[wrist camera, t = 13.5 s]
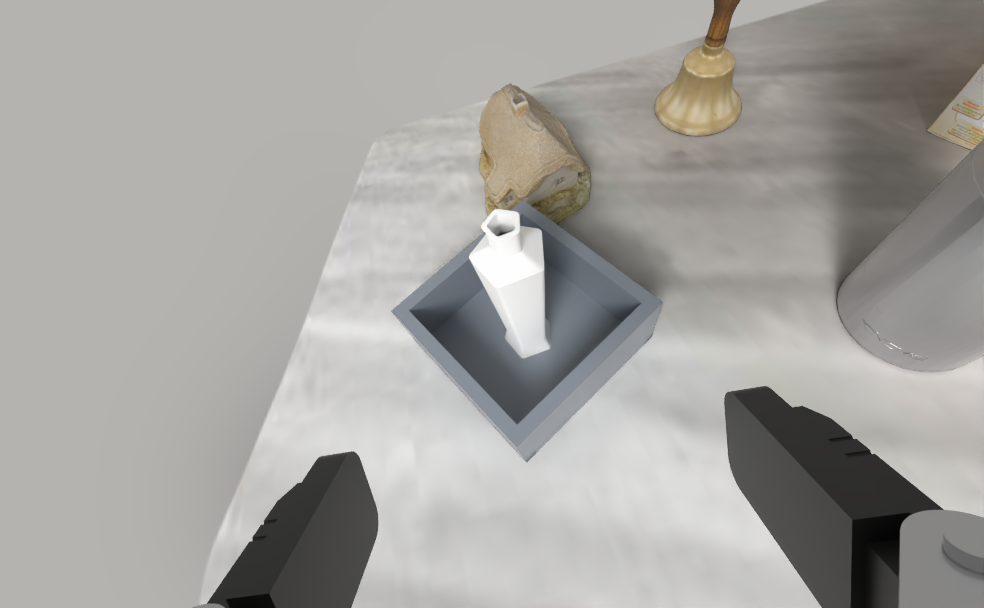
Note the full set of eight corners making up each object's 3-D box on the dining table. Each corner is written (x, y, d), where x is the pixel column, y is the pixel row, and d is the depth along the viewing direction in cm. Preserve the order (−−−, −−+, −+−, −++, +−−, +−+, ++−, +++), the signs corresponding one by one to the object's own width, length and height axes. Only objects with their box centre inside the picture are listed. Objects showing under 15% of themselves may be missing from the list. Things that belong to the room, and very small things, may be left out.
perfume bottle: (500, 313, 39) (459, 196, 26) (551, 308, 38) (536, 186, 25) (500, 364, 37) (456, 264, 24) (556, 360, 36) (541, 256, 23)
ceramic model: (614, 206, 44) (622, 121, 35) (506, 253, 43) (487, 179, 35) (550, 118, 50) (543, 28, 42) (456, 158, 50) (429, 76, 41)
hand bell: (695, 69, 50) (740, -115, 36) (759, 106, 46) (837, -84, 32) (637, 108, 49) (659, -67, 35) (697, 150, 45) (750, -29, 31)
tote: (529, 241, 43) (522, 199, 38) (651, 336, 37) (663, 302, 32) (415, 341, 40) (391, 310, 35) (526, 462, 34) (516, 447, 29)
